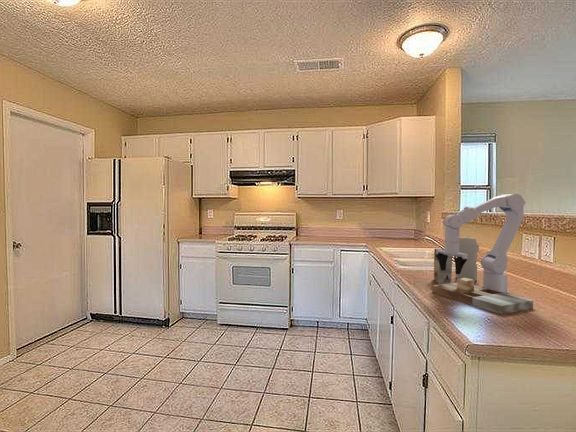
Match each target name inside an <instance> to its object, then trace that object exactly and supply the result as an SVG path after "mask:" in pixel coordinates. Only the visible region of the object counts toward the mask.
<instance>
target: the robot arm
mask: <svg viewBox="0 0 576 432" xmlns="http://www.w3.org/2000/svg"><path fill="white" fill-rule="evenodd" d="M525 204H526V201H525V199H524V197H523V196H522V195H521V194H519V193H512V194H510V193H509V194H508V193H507V194H505V193H501V194H499V195H497V196H494V197H492V198H490V199H488V200H486V201H485V202H482V203H480V204H478V205H477V206H475V207H473V206H464V207H463V209H461V210H459V211H455V212H453V214H448V215H445V217H444V220H443V221H442V224H443V225H444V230H445V231H444V232H445V233H444V247H443V249H444V250H441V249H442V248H435V249H436V254H438V255H436V257H437V259H438V261H439V264H440V268H441V270H442V271H444V270H446V262H447V258H448V256H452V257H454V258H453V259H454V260H453V261H454V265H455V268H454V270H455V275H456V274H460V273H461V270H462V267H463V265H464V264H465V262H466V261H467V259H468V254H464V253H460V252H459V238H460V228H461V227H462V226H463V225H464V224H466V223H469V222H471V221H474V220H475V219H477V218H478V216H479V215H480V214H482V213H484V212H487V211H489V210H492V209H494V208H499V209H500V210H501V211H502V212H503V213H504V214H505V216H506V219H505V221H504V223H503V224H502V227H501V230H500V231H499V234H498V236H497V238H496V240H495V242H494V244H493V247H492V249H490V250H489V251H487V252H486V255H484V256H483V257H482V258H481V259H480V266H481V268H483V273H482V275H483V277H482V278H483V279H482V280H483V281H482V287H483V288H487V289H491V290H495V291H499V292H503V293H506V294H510V291H508V282H509V278H508V275H506V273H505V272H506V271H507V268H508V261H509V258H508V256H507V253H508V251H509V249H510V247H511V245H512V243H513V241H514V239H515V236H516V234H517V232H518V230H519V228H520V226H521V223H522V221H523V219H524V216H525V211H524V206H525ZM450 254H452V255H450ZM457 257H458V258H457Z"/></svg>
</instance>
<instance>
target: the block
mask: <svg viewBox="0 0 576 432" xmlns="http://www.w3.org/2000/svg"><path fill="white" fill-rule="evenodd" d="M456 282H457V288H460V289H463V290H473V289H474V285H475V281H474V280H472V279H468V278H456Z"/></svg>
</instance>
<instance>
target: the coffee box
mask: <svg viewBox="0 0 576 432" xmlns="http://www.w3.org/2000/svg"><path fill="white" fill-rule="evenodd" d="M436 249H437V248H434V253H433V254H434V255H433V257H434V258H433V259H434V260H433V281H435V282H436V283H437V285H439V284H447V283H452V277H453V276H452V275H453V273H452V272H453V270H452V269H453V256H448V258H447V262H446V270H444V271H442V270H441V268H440V264H439V261H438V259H437V257H436V255H438V254H436ZM440 249H441V250H444V248H440ZM450 255H452V254H450Z"/></svg>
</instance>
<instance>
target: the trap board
mask: <svg viewBox="0 0 576 432" xmlns="http://www.w3.org/2000/svg"><path fill="white" fill-rule="evenodd" d="M431 292H432V293H434V294H437V295H440V296H442V297H446V298H449V299H453V300H456V301H459V302H462V303H464V304H469V305H471V306H474V307H477V308H480V309H482V310H487V311H489V312H492V313H496V314H499V315H506V314H512V313H517V312H522V311H526V310H532V309H534V300H533V299H530V298H525V297H523V296H518V295H513V294H510V293H507V294H506V293H503V292H499V291H495V290H491V289H487V288H483V286H480V285H479V286H478V285H475V284H474V289H473V290H463V289H460V288H457V281H456V282H451V283H447V284H433V285H432V288H431Z"/></svg>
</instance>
